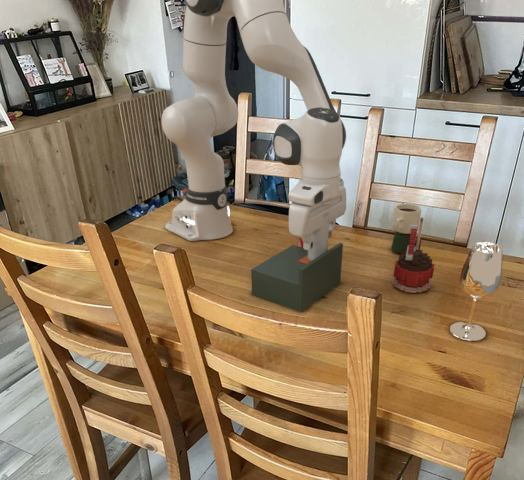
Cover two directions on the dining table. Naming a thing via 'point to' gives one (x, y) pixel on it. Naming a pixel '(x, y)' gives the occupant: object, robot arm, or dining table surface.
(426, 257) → the cake
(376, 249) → the dining table surface
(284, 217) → the dining table surface
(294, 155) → the robot arm
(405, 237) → the character mug
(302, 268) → the dark green box
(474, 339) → the wineglass
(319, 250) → the beverage can
